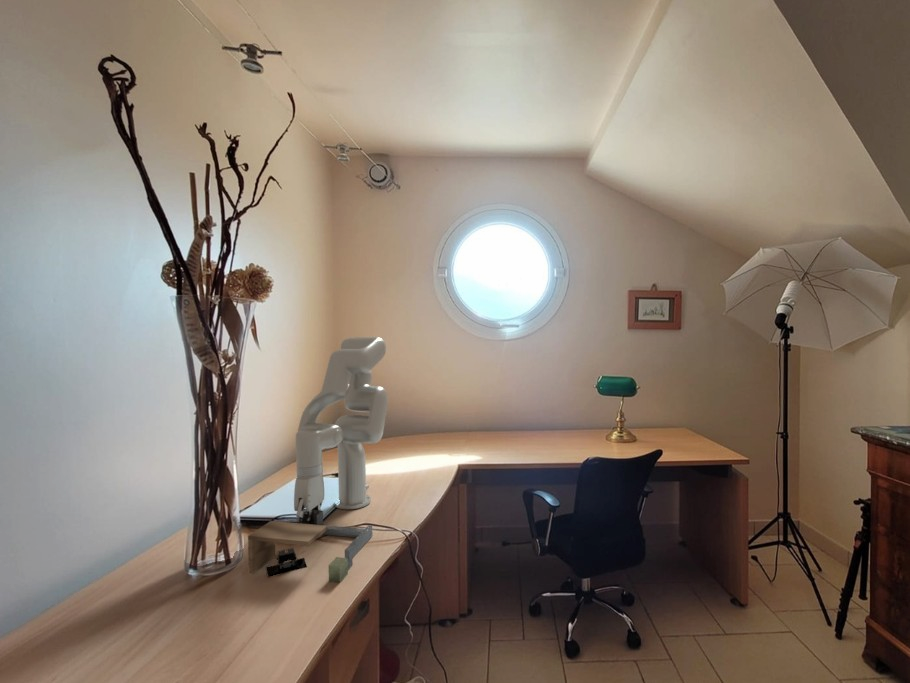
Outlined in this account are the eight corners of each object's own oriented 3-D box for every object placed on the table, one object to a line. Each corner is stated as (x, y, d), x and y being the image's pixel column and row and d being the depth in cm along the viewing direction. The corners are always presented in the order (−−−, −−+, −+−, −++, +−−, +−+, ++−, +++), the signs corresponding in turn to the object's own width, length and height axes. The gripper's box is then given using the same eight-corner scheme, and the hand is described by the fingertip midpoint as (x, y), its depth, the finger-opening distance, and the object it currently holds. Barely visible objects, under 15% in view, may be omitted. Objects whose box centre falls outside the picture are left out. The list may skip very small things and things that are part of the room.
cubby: (271, 555, 117) (270, 520, 117) (328, 561, 113) (327, 525, 113) (248, 573, 108) (248, 535, 108) (309, 580, 104) (308, 541, 104)
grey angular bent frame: (273, 553, 117) (273, 532, 117) (305, 528, 133) (305, 509, 133) (349, 561, 112) (348, 539, 112) (373, 534, 128) (372, 514, 128)
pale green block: (344, 564, 111) (344, 549, 111) (355, 565, 111) (354, 550, 111) (328, 581, 103) (328, 565, 103) (340, 583, 103) (339, 566, 103)
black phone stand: (309, 557, 117) (309, 540, 117) (314, 570, 110) (314, 552, 110) (259, 569, 111) (259, 551, 111) (261, 583, 104) (261, 564, 104)
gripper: (313, 461, 139) (315, 517, 139) (282, 478, 123) (284, 541, 123) (334, 462, 137) (335, 519, 138) (305, 480, 121) (307, 543, 122)
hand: (311, 529), depth 130 cm, fingers closed on grey angular bent frame, 3 cm apart
